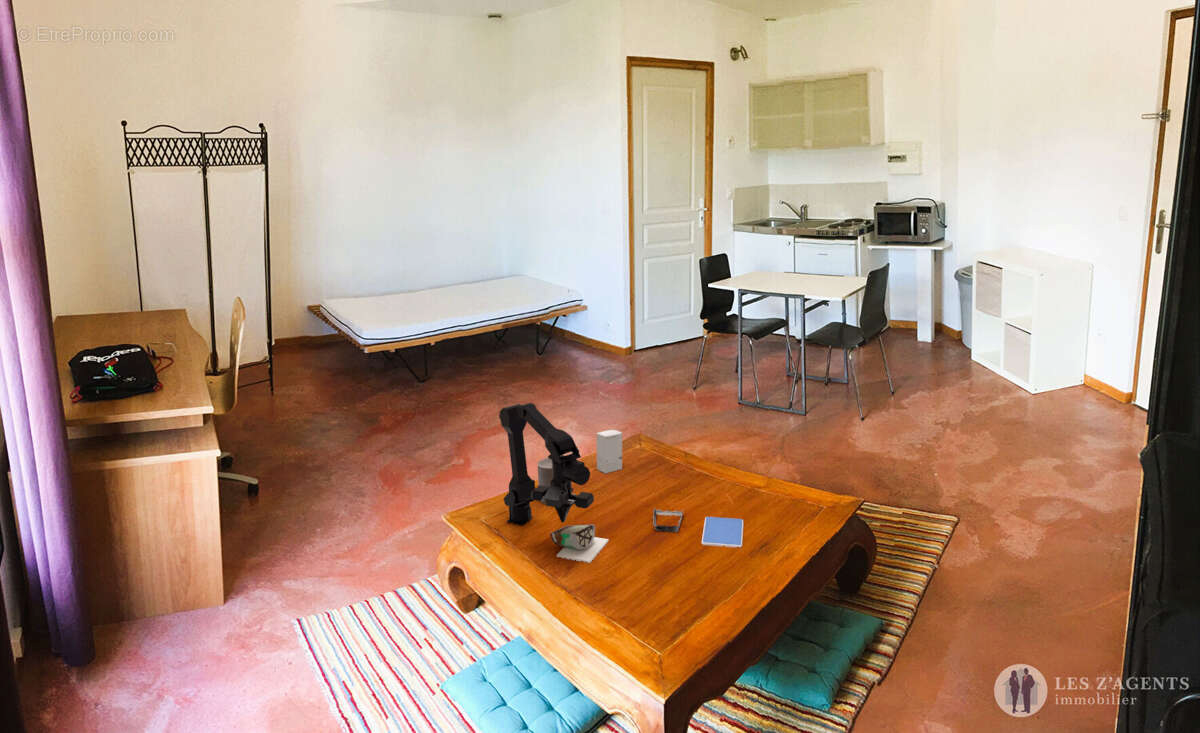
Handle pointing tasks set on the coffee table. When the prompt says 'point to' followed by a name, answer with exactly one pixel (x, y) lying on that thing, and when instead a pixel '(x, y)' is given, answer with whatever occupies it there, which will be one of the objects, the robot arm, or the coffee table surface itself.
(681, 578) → the coffee table surface
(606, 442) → the skincare box
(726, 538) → the blue square panel
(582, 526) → the food container
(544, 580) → the coffee table surface
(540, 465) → the pillar candle
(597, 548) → the white flat rectangular board
